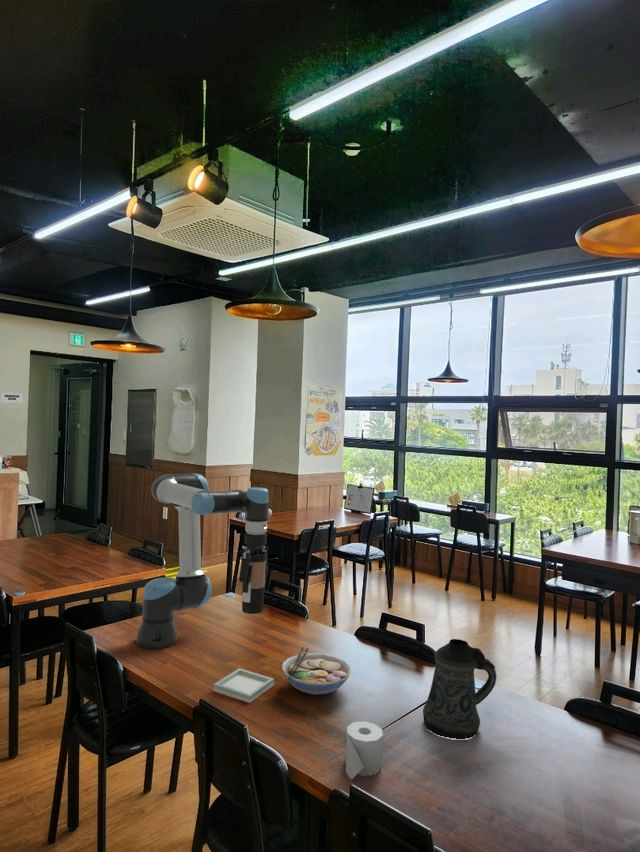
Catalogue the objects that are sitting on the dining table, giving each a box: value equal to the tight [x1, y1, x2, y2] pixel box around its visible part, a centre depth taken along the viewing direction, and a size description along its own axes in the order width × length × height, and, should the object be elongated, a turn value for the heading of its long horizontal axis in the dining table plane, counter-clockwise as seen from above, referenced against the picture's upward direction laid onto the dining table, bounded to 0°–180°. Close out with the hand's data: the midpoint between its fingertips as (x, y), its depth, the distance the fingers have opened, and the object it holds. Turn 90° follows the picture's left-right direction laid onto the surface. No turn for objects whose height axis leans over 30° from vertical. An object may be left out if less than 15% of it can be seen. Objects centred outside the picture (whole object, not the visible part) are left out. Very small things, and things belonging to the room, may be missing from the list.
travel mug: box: [241, 552, 266, 615], centre depth 190 cm, size 8×8×20 cm
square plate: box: [213, 668, 275, 704], centre depth 178 cm, size 14×14×2 cm
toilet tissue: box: [344, 721, 384, 780], centre depth 139 cm, size 9×13×9 cm
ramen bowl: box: [281, 646, 352, 696], centre depth 180 cm, size 25×23×8 cm
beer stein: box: [422, 638, 497, 739], centre depth 162 cm, size 16×19×25 cm
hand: (252, 598), depth 190 cm, fingers closed on travel mug, 8 cm apart
